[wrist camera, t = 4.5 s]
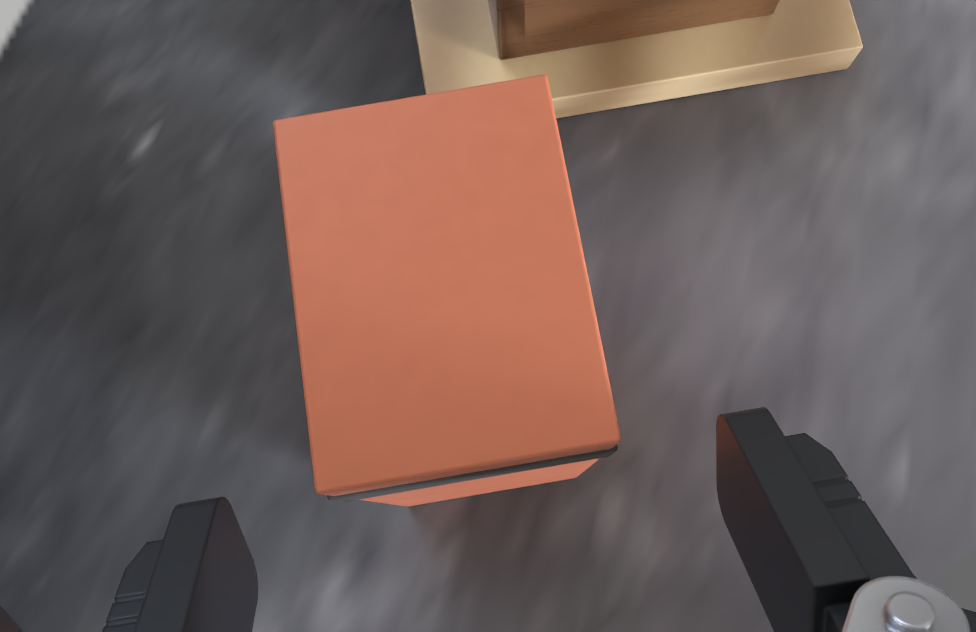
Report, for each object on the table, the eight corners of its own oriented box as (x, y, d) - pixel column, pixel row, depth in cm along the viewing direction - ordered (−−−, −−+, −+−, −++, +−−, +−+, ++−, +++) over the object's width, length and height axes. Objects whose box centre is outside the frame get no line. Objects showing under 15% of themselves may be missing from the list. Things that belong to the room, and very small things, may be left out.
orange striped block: (404, 509, 22) (311, 498, 12) (373, 284, 23) (268, 116, 14) (580, 479, 22) (626, 445, 12) (538, 256, 23) (550, 68, 14)
